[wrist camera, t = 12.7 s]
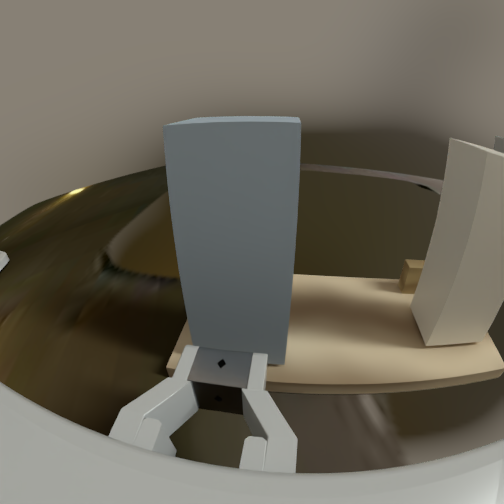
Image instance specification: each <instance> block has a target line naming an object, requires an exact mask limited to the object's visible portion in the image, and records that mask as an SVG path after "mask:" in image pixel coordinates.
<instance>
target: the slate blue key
mask: <svg viewBox="0 0 504 504" xmlns="http://www.w3.org/2000/svg"><path fill="white" fill-rule="evenodd" d="M163 134H164V148H165V160H166V171H167V182H168V191H169V200H170V209H171V217H172V225H173V232H174V240H175V246H176V253H177V260H178V267H179V272H180V279H181V285H182V291H183V297H184V302H185V308H186V313H187V319H188V324H189V329H190V334H191V339H192V343H193V346H199V347H206V348H213V349H220V350H231V351H242V352H253V353H263V354H268V360H267V364H279V365H285V356H286V347H287V337H288V327H289V317H290V306H291V295H292V284H293V271H294V257H295V244H296V229H297V228H296V227H297V212H298V194H299V193H298V192H299V171H300V146H301V121H300V119H299V118H298V117H276V116H274V117H273V116H230V117H205V118H194V119H189V120H185V121H180V122H176V123H172V124H168V125H164V126H163Z"/></svg>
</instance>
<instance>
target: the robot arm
mask: <svg viewBox="0 0 504 504" xmlns="http://www.w3.org/2000/svg"><path fill="white" fill-rule="evenodd" d="M8 261H9V258H8V256H7V254H6V253H5V252H2V251H0V271H1V270H2V269H3V267H4V266H5V265H6V264H7V263H8ZM267 360H268V354H263V353H253V352H242V351H231V350H220V349H213V348H206V347H199V346H193V345H186V346H185V347H184V349H183V352H182V354H181V357H180V359H179V362H178V364H177V367H176V369H175V372H174V374H173V376H172V378H171V377H168V378H166V379H165V380H163V381H162V382H160V383H159V384H158V385H156V386H155V387H153V388H152V389H150V390H149V391H147V392H146V393H144V394H143V395H141V396H140V397H138V398H137V399H135V400H134V401H132V402H131V403H129V404H128V405H126V406H124V407H123V408H121V410H120V412H119V415H118V417H117V419H116V421H115V423H114V425H113V427H112V430H111V432H110V434H109V436H106V435H103V434H101V433H98V432H95V431H93V430H91V429H88V428H86V427H83V426H81V425H79V424H76V423H74V422H72V421H70V420H68V419H66V418H63V417H61V416H59V415H57V414H55V413H53V412H51V411H49V410H47V409H45V408H43V407H42V406H40V405H38V404H36V403H34V402H32V401H31V400H29V399H27V398H25V397H24V396H22V395H20V394H19V393H17V392H15V391H14V390H12V389H10V388H9V387H7V386H6V385H4V384H3V383H1V382H0V504H504V439H501V440H499V441H496V442H494V443H491V444H488V445H485V446H483V447H480V448H477V449H473V450H470V451H467V452H463V453H460V454H457V455H453V456H449V457H445V458H441V459H437V460H432V461H428V462H423V463H418V464H413V465H407V466H401V467H394V468H387V469H379V470H370V471H359V472H344V473H295V470H296V455H297V437H296V436H295V434H294V433H293V431H292V430H291V428H290V427H289V425H288V424H287V422H286V420H285V419H284V417H283V416H282V414H281V412H280V411H279V409H278V408H277V406H276V404H275V403H274V401H273V400H272V398H271V396H270V395H269V393H268V391H265V388H266V376H267ZM198 408H199V409H206V410H213V411H221V412H227V413H233V414H240V415H243V416H244V419H245V421H246V423H247V425H248V427H249V429H250V431H251V433H252V435H253V436H249V437H247V438H246V439H245V442H244V447H243V452H242V457H241V462H240V467H239V468H231V467H224V466H218V465H212V464H207V463H201V462H196V461H191V460H187V459H182V458H178V457H175V455H176V449H175V447H174V445H173V444H172V442H171V440H170V438H169V436H170V435H171V434H172V433H174V432H175V431H176V430H177V429H178V428H179V427H180V426H181V425H182V424H184V423H185V422H186V421H187V420H188V419H189V418H190V417H191V416H192V415H193V414H194V413H195V412H197V411H198Z"/></svg>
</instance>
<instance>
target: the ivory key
mask: <svg viewBox="0 0 504 504" xmlns="http://www.w3.org/2000/svg"><path fill="white" fill-rule="evenodd" d="M503 300H504V153H501V152H498V151H495V150H492V149H488V148H485V147H482V146H479V145H475V144H472V143H468V142H464V141H461V140H456V139H453V138H450V141H449V150H448V158H447V164H446V171H445V177H444V183H443V188H442V194H441V199H440V204H439V208H438V213H437V218H436V222H435V226H434V230H433V234H432V238H431V242H430V246H429V249H428V253H427V256H426V260H425V263H424V266H423V269H422V273H421V276H420V279H419V282H418V285H417V288H416V291H415V294H414V297H413V299H412V302H411V305H410V308H411V310H412V313H413V315H414V317H415V320H416V322H417V325H418V327H419V330H420V332H421V335H422V337H423V340H424V343H425V345H426V346H434V345H449V344H461V343H472V342H481V341H482V340H483V338H484V336H485V335H486V333H487V331H488V329H489V327H490V325H491V324H492V322H493V320H494V318H495V316H496V314H497V312H498V310H499V308H500V306H501V304H502V302H503Z"/></svg>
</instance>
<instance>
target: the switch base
mask: <svg viewBox="0 0 504 504" xmlns="http://www.w3.org/2000/svg"><path fill="white" fill-rule="evenodd" d="M424 263H425V261H424V260H407V259H405V262H404V266H403V269H402V273H401V276H400V280H397V279H374V278H353V277H333V276H314V275H297V274H293V284H292V295H291V306H290V317H289V327H288V337H287V347H286V356H285V365H279V364H267V376H266V388H265V391H270V392H284V393H303V394H374V393H392V392H405V391H416V390H425V389H434V388H442V387H449V386H456V385H462V384H467V383H473V382H479V381H484V380H489V379H493V378H497V377H500V375H501V374H502V373H503V371H504V362H503V361H502V358H501V357H500V355H499V352H498V351H497V349H496V347H495V345H494V343H493V341H492V339H491V338H490V336H489V334H488V332H487V333H486V335H485V336H484V338H483V340H482V341H481V342H472V343H461V344H449V345H434V346H426V345H425V343H424V340H423V337H422V335H421V332H420V330H419V327H418V325H417V322H416V320H415V317H414V315H413V313H412V310H411V308H410V305H411V302H412V299H413V297H414V294H415V291H416V288H417V285H418V282H419V279H420V276H421V273H422V269H423V266H424ZM186 345H193V343H192V339H191V334H190V329H189V324H188V319H187V321H186V323H185V325H184V328H183V330H182V332H181V334H180V337H179V339H178V341H177V343H176V346H175V348H174V350H173V352H172V355H171V357H170V359H169V362H168V364H167V366H166V369H167V372H168V374H169V377H171V378H172V376H173V374H174V372H175V369H176V367H177V364H178V362H179V359H180V357H181V354H182V352H183V349H184V347H185V346H186Z"/></svg>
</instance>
